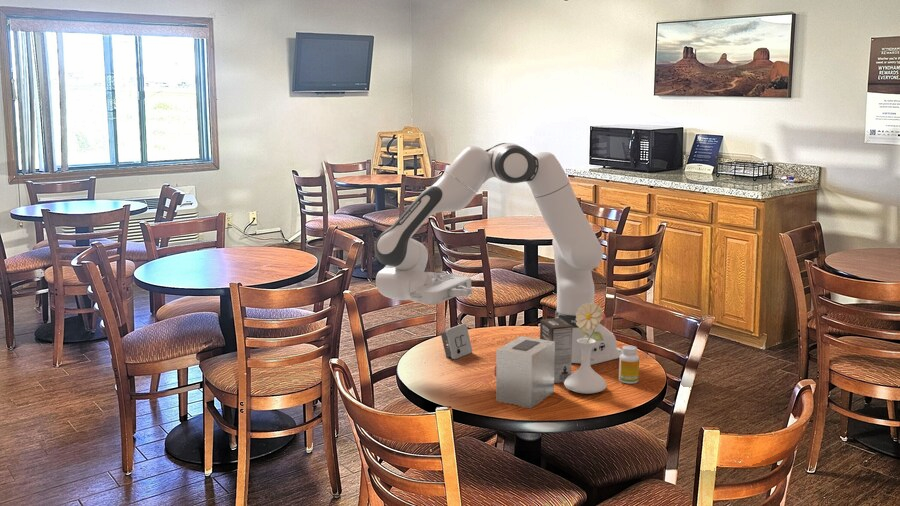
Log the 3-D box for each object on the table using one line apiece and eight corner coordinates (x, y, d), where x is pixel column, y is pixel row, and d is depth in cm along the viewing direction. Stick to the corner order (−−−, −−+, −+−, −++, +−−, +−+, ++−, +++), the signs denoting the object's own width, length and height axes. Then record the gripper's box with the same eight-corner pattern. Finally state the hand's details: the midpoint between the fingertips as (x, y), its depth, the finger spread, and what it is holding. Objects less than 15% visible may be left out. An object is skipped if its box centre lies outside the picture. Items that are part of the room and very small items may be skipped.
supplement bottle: (641, 383, 230) (642, 349, 228) (622, 384, 229) (624, 350, 227) (634, 377, 235) (635, 343, 233) (615, 378, 234) (616, 344, 232)
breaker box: (496, 401, 217) (496, 348, 214) (520, 385, 228) (520, 335, 226) (531, 408, 212) (531, 354, 209) (553, 391, 223) (554, 340, 221)
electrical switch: (454, 360, 250) (451, 330, 249) (440, 359, 253) (438, 329, 252) (473, 353, 257) (470, 323, 256) (459, 351, 261) (457, 322, 259)
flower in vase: (556, 385, 228) (558, 296, 223) (592, 380, 232) (595, 293, 227) (580, 402, 216) (582, 308, 211) (618, 396, 220) (621, 304, 215)
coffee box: (538, 373, 238) (539, 318, 235) (558, 371, 240) (560, 317, 237) (551, 383, 230) (552, 327, 227) (572, 381, 232) (573, 325, 229)
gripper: (405, 284, 227) (449, 289, 220) (445, 269, 244) (486, 274, 237) (406, 306, 228) (450, 312, 221) (445, 290, 245) (487, 295, 238)
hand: (469, 292), depth 229 cm, fingers closed
